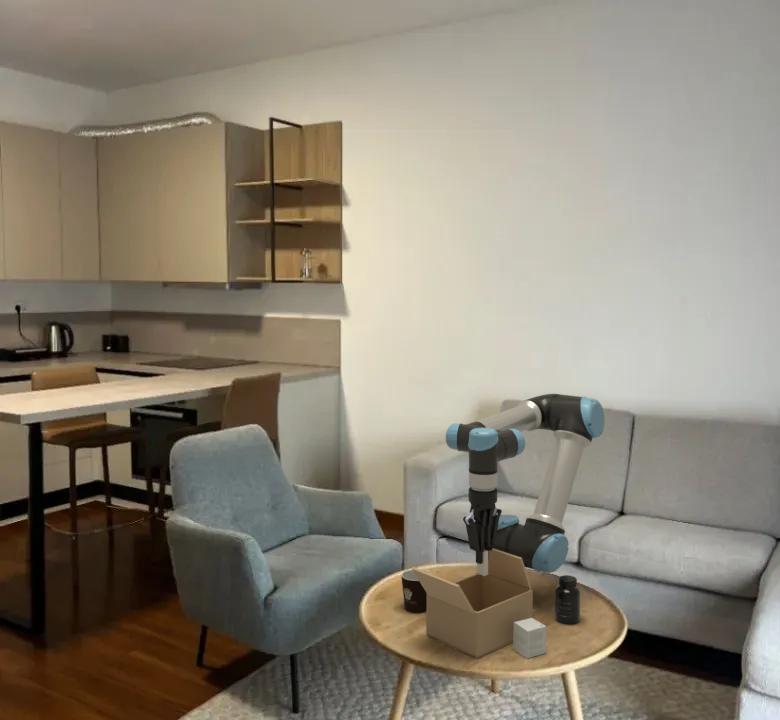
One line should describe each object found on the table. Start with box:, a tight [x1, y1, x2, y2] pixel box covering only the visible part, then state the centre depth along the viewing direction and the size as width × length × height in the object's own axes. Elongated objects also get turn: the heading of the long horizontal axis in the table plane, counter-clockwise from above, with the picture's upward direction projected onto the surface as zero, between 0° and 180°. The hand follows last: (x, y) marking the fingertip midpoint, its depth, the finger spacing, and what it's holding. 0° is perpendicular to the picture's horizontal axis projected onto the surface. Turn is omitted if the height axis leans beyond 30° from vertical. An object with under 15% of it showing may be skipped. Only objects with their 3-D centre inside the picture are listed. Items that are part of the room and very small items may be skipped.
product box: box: [512, 617, 547, 659], centre depth 205 cm, size 6×6×7 cm
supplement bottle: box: [554, 574, 581, 625], centre depth 223 cm, size 7×7×12 cm
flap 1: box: [411, 566, 475, 614], centre depth 203 cm, size 10×16×1 cm
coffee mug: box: [400, 569, 430, 614], centre depth 229 cm, size 12×9×10 cm
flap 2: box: [488, 548, 532, 590], centre depth 219 cm, size 10×16×1 cm
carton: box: [425, 573, 534, 660], centre depth 214 cm, size 22×18×12 cm
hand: (482, 573), depth 213 cm, fingers closed
